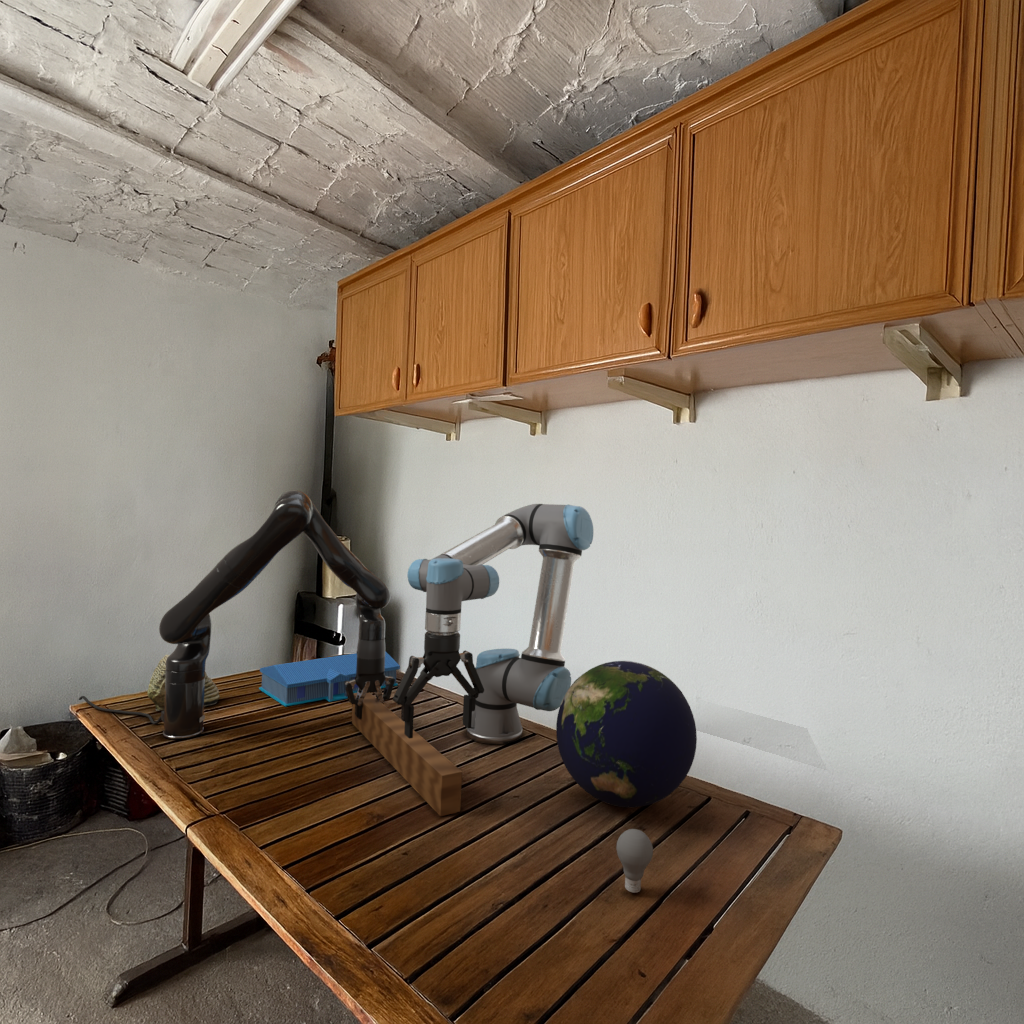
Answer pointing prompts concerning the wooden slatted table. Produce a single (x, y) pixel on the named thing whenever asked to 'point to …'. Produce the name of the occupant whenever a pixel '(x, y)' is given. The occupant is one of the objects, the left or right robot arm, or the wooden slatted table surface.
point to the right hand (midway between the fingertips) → (438, 731)
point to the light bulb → (634, 857)
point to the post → (411, 756)
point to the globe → (626, 734)
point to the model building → (315, 679)
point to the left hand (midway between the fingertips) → (368, 716)
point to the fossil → (158, 687)
